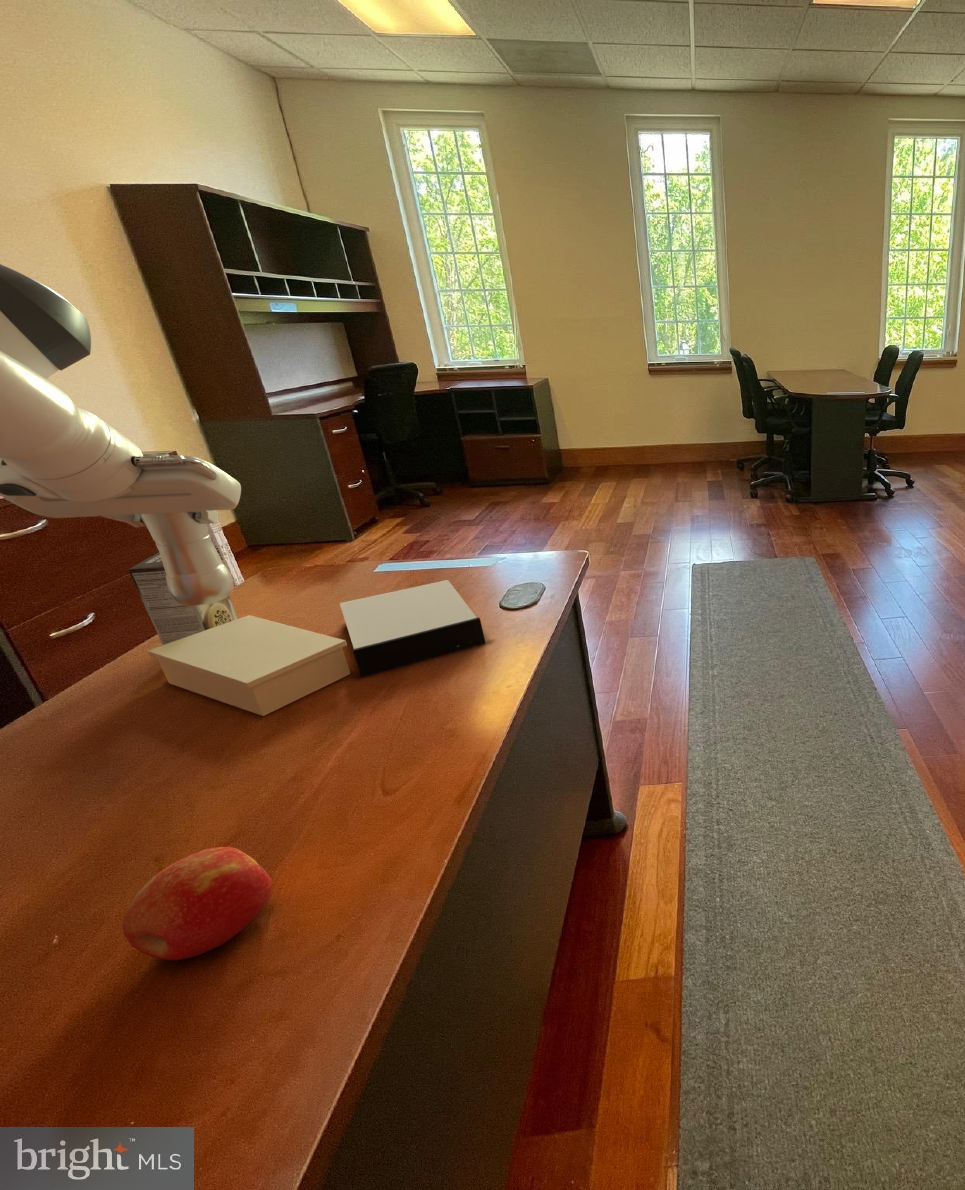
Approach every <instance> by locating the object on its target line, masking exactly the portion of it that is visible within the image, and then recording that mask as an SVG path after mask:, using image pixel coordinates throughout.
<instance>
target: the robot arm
mask: <svg viewBox="0 0 965 1190" xmlns="http://www.w3.org/2000/svg"><path fill="white" fill-rule="evenodd" d="M91 336H92V334H91V330H90V325H89V321H88V319H87V317H86V316H85V315H84V314H83V313H82V312H81V311H80V310H79V309H78V308H76V307H75V306H74V305H73V304H72V303H71V302H70V301H69V300H67V299H66V298H65V297H64V296H63V295H61V294H60V293H58V292H57V291H55V290H54V289H52V288H50V287H49V286H47V285H45V284H43V283H41V282H40V281H38V280H35V278H32V277H29V276H27V275H25V274H23V273H21V272H19V271H17V270H15V269H12V268H10V267H8V266H5V265H3V264H1V263H0V497H2V498H3V499H5V500H6V501H8V502H10V503H12V504H13V505H16V506H18V507H20V508H22V509H23V510H26V511H27V512H30V513H32V514H35V515H38V516H41V517H47V518H51V519H68V518H87V517H90V518H91V517H102V518H105V519H108V520H109V519H110V520H113V521H118V522H122V523H127V524H128V525H130V526H131V527H133V528H136V529H137V528H147V527H146V525H145V523H144V522H143V520H142V519H141V517H140V516H139V514H152V513H173V512H196V514H195V519H196V520H197V521H199V522H201V523H202V524H207V525H209V524H210V525H213V524H217V523H218V522H219V521H218V520H219V512H218V511H231V510H235V509H236V508H237V507H238V505H239V503H240V499H241V494H242V486H241V483H240V482H239V481H238V480H237V479H236V478H234V477H232V476H231V475H229V474H228V473H227V472H225V471H224V470H222V469H220V467H217V466H215V465H214V464H212V463H210V462H208V461H206V460H204V459H202V458H200V457H197V456H191V455H181V454H180V455H177V454H175V455H173V454H172V455H169V456H143V454H144V453H143V452H142V450H141V448H140V447H139V446H138V445H137V444H136V443H135V442H134V441H132V440H131V439H129V438H128V437H127V436H125V435H123V433H121V432H120V431H118V430H117V429H115V428H114V427H113V426H111V425H110V424H108V422H106V421H105V420H103V419H102V418H101V417H99V416H97V415H96V414H94V413H92V412H91V411H88V410H86V409H83V408H80V407H78V406H77V405H76V404H75V403H74V401H73V400H72V399H71V397H70V396H69V395H68V394H67V393H66V392H65V391H63V390H62V389H60V387H58V386H57V385H56V384H54V383H52V382H51V381H50V380H48V378H50V377H51V376H53V375H55V374H56V373H57V372H58V371H60V372H61V371H63V370H65V369H67V368H69V367H71V366H72V365H74V364H76V363H78V362H79V361H82V360H84V359H86V358H87V357H89V356H90V355H91V351H92V337H91Z"/></svg>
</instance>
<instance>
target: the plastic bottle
mask: <svg viewBox="0 0 965 1190" xmlns="http://www.w3.org/2000/svg"><path fill="white" fill-rule="evenodd" d="M142 454H143V456H170V454H169V453H167V452H153V453H142ZM195 514H196V512H173V513H152V514H139V516H140V517H141V519H142V520H143V522H144V523H145V525H146V527H145V528H147V530H148V532H149V534H150V536H151V538H152V540H153V541H154V542H155V546H156V548H157V550H158V553H159V552H160V556H161V559H162V562H163V566H164V569H165V572H166V574H167V575H166V581H167V586H168V590H169V592H170V594H171V595H172V597H173V598H174V599H175V601H177V602H178V603H180V604H182V605H185V606H197V605H204V604H209V603H213V602H216V601H220V600H222V599H225V598H227V597H230V596H232V594H233V592H234V590H235V586H234V579H233V578H234V577H233V575H232V574H231V572H230V571H229V568H227V566H226V565H225V564H224V563H223V560H222V558H221V556H220V554H219V553H218V551H217V548H216V547H215V545H214V543H213V540H212V536H211V534H210V533H209V527H208V524H202V523H201V522H199V521H197V520H196V519H195Z"/></svg>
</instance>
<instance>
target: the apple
mask: <svg viewBox="0 0 965 1190" xmlns="http://www.w3.org/2000/svg"><path fill="white" fill-rule="evenodd" d="M272 881H273V880H272V879H271V876H270V875H269V873H268V872H267V871H266V870H265V869H264V868H263V867H262V866H261V865H260V864H259V863H258V862H257V861H256V860H255V859H254V858H252V856H250V855H248V854H246V853H245V852H244V851H242V850H241V849H238V848H237V847H231V846H218V847H211V848H210V847H209V848H205V849H203V850H200V851H198V852H195V853H193V854H190V855H187V856H186V857H183V858H181V859H179V860H177V861H175V862H174V863H172V864H170V865H168V866H166V867H165V868H164V869H162V870H161V871H160V872H158V873H156V875H155V876H153V877H152V878H151V879H150V880H148V882H147V883H146V884H145V885H144V886H143V887H142V888H141V889H140V890H139V891H138V892H137V893H136V894H135V896H134V897H133V899H132V901H130V903H129V905H128V907H127V910H126V911H125V914H124V917H123V920H122V932H123V935H124V937H125V938H126V940H127V942H128V943H129V945H130V946H132V947H133V948H134V949H136V950H137V951H138V952H140V953H141V954H143V955H146V956H148V957H151V958H155V959H158V960H163V961H180V960H186V959H191V958H194V957H197V956H200V955H202V954H205V953H207V952H209V951H211V950H213V949H215V948H217V947H221V946H222V945H224V944H225V943H227V942H229V941H230V940H231V939H232V938H234V937H236V936H237V935H239V933H241V932H242V931H244V930H246V929H247V928H248V927H249V926H250V925H251V924H252V923H253V922H254V921H255V920H256V918H258V916H260V914H261V912H262V911H263V910H264V909H265V907H266V906H267V904H268V902H269V901H270V898H271V896H272V892H273V882H272Z"/></svg>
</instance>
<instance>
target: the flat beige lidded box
mask: <svg viewBox="0 0 965 1190" xmlns="http://www.w3.org/2000/svg"><path fill="white" fill-rule="evenodd" d="M347 645H348V644H347V641H346V639H342V638H338V637H333V636H330V635H326V634H322V633H318V632H315V631H311V630H308V629H303V628H300V627H297V626H292V625H288V624H284V623H281V622H277V621H274V620H269V619H266V618H262V617H259V616H254V615H250V614H248V615H245V616H242V617H240V618H239V617H238V619H236V620H234V621H231V622H228V623H225V624H222V625H219V626H216V627H214V628H211V629H208V630H205V631H202V632H199V633H196V634H194V635H191V636H188V637H185V638H182V639H179V640H176V641H174V642H171V643H168V644H165V645H163V644H161V645H159V646H157V647H153V648H150V649H148V650H147V655H148V656H149V657H153V658H155V659H157V662H158V663H159V666H160V668H161V670H162V671H163V674H164V676H165V678H166V680H167V682H168V684H170V685H173V686H176V687H178V688H181V689H185V690H188V691H190V692H193V693H195V694H199V695H202V696H205V697H207V698H210V699H213V700H216V701H219V702H222V703H224V704H228V705H230V706H234V707H235V708H238V709H242V710H244V711H247V712H250V713H253V714H256V715H258V716H262V717H264V716H266V715H269V714H270V713H273V712H275V711H277V710H279V709H280V708H283V707H285V706H287V705H289V704H292V703H293V702H295V701H298V700H300V699H302V698H304V697H306V696H308V695H310V694H312V693H314V692H317V691H319V690H321V689H322V688H324V687H326V686H329V685H331V684H333V683H335V682H336V681H339V680H341V679H343V678H345V677H347V676H349V675H351V671H350V668H349V665H348V662H347V658H346V655H345V652H344V650H343V648H344V647H346V646H347Z"/></svg>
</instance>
